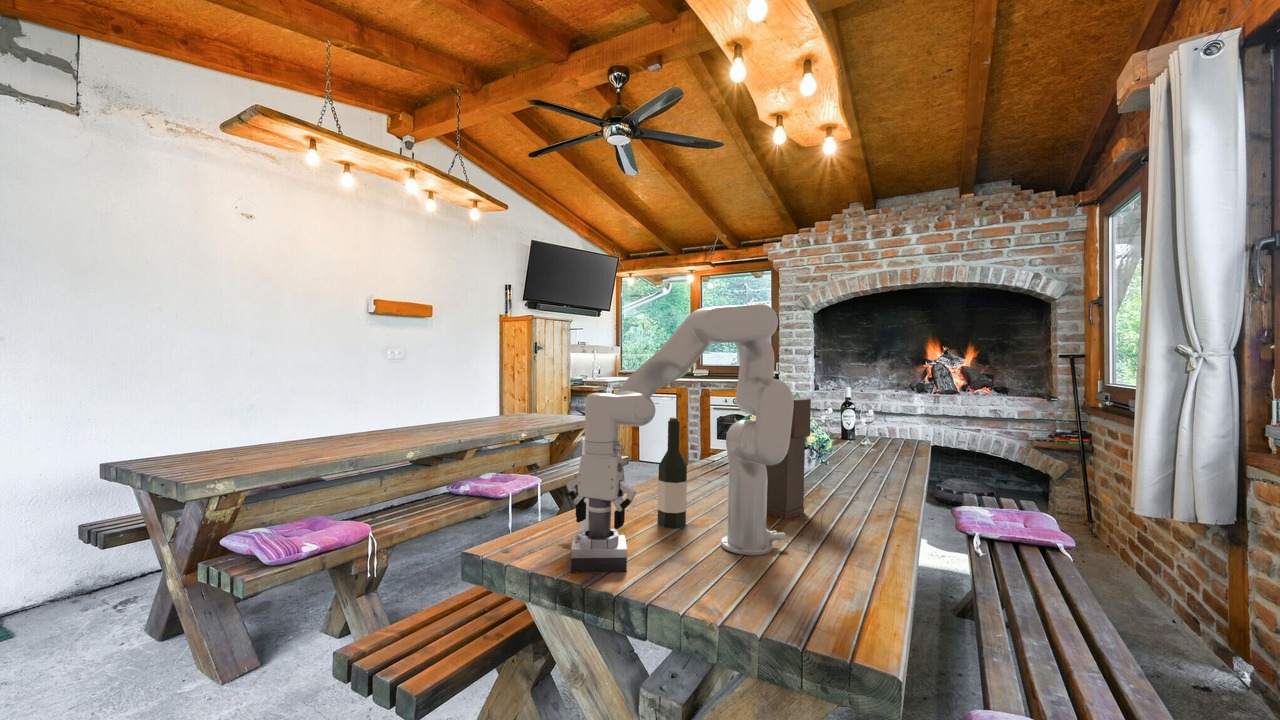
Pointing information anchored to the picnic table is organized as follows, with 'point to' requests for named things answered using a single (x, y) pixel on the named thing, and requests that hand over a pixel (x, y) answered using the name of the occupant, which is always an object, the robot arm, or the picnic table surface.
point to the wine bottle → (672, 482)
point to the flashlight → (599, 518)
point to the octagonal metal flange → (599, 553)
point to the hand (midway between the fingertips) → (599, 524)
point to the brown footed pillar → (790, 467)
